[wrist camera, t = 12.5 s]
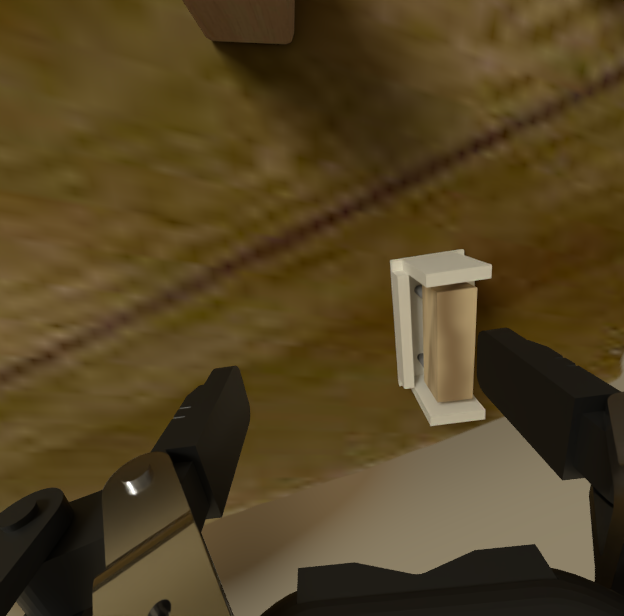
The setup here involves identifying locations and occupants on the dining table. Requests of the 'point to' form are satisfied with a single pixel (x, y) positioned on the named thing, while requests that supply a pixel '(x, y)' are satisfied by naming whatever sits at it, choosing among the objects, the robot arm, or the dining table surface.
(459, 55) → the dining table surface
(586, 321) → the dining table surface
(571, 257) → the dining table surface
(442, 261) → the peg cradle
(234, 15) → the wooden block
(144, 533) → the robot arm
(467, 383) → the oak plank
